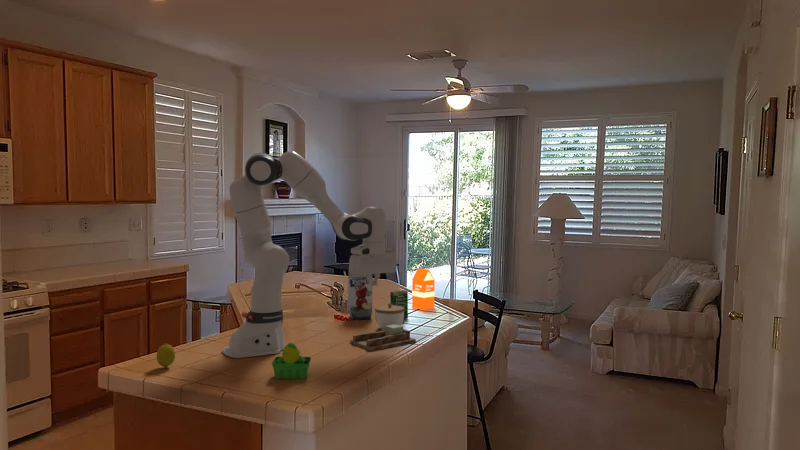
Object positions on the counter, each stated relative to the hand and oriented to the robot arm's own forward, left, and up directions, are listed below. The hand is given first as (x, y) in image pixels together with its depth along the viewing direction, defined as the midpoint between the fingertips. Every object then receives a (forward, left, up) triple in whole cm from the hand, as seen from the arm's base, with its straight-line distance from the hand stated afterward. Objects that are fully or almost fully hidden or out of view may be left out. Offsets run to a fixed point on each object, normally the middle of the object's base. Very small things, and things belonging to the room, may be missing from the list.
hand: (372, 285), depth 208 cm
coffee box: (+34, +28, -23) cm, 50 cm away
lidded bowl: (+19, +15, -23) cm, 33 cm away
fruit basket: (-43, -18, -23) cm, 52 cm away
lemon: (-72, +14, -23) cm, 77 cm away
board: (+4, -2, -22) cm, 23 cm away
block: (+9, -2, -21) cm, 23 cm away
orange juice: (+61, +43, -23) cm, 78 cm away
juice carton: (+21, +41, -23) cm, 52 cm away
